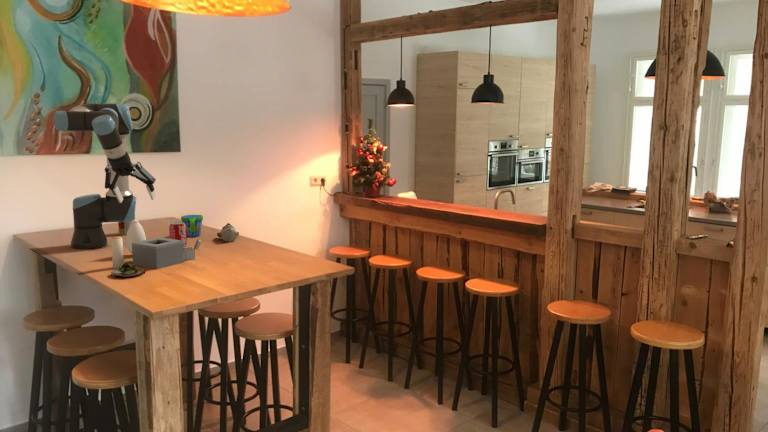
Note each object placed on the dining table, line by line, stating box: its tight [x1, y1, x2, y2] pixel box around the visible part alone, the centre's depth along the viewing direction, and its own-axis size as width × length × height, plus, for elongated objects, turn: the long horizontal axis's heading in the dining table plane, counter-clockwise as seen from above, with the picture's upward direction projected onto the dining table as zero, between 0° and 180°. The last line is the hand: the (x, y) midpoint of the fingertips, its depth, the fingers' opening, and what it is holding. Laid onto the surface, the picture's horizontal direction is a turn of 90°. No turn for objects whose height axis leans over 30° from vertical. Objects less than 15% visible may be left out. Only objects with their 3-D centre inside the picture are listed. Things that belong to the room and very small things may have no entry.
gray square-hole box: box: [131, 236, 185, 270], centre depth 247 cm, size 14×14×9 cm
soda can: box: [168, 221, 188, 250], centre depth 269 cm, size 7×7×13 cm
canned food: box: [117, 221, 132, 236], centre depth 306 cm, size 8×8×12 cm
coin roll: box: [110, 236, 125, 270], centre depth 239 cm, size 4×4×12 cm
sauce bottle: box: [125, 214, 147, 254], centre depth 260 cm, size 8×8×18 cm
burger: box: [110, 257, 146, 279], centre depth 229 cm, size 12×12×8 cm
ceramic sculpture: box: [216, 222, 240, 243], centre depth 296 cm, size 11×9×15 cm
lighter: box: [184, 239, 202, 261], centre depth 256 cm, size 7×2×8 cm, turn 128°
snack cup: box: [180, 214, 204, 238], centre depth 304 cm, size 16×10×10 cm
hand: (137, 199), depth 244 cm, fingers open, 13 cm apart
